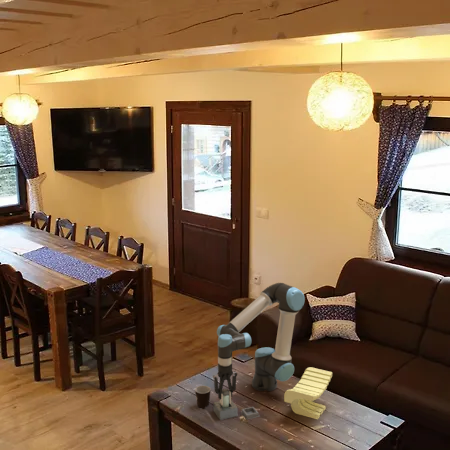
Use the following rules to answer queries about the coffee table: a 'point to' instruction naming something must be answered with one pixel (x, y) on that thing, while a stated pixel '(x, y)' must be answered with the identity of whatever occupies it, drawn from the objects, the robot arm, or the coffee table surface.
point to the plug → (225, 398)
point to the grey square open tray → (250, 413)
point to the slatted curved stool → (309, 392)
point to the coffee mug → (202, 396)
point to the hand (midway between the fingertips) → (225, 403)
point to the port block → (225, 410)
